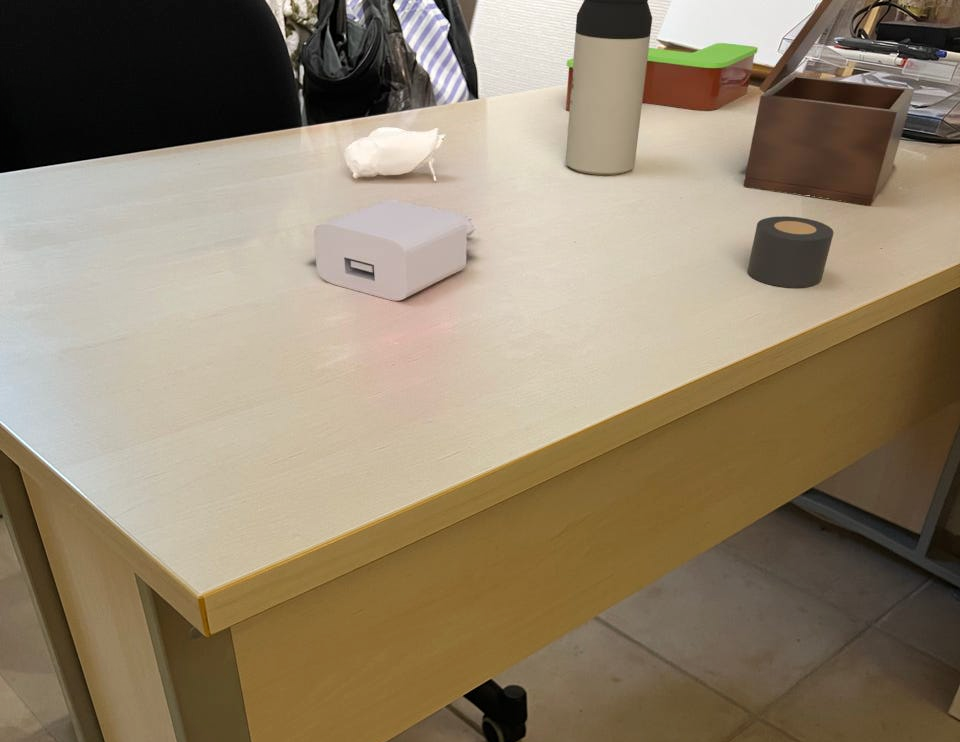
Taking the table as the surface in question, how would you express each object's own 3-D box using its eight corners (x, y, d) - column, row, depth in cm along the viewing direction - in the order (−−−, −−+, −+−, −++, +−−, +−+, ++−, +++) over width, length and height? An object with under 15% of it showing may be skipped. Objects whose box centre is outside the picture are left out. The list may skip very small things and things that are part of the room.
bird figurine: (426, 181, 107) (339, 160, 104) (442, 120, 102) (352, 95, 99) (431, 202, 104) (342, 181, 101) (448, 140, 99) (355, 116, 96)
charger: (503, 254, 85) (406, 304, 76) (420, 234, 89) (317, 280, 79) (506, 198, 82) (404, 243, 72) (419, 180, 86) (312, 220, 76)
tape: (827, 270, 84) (840, 223, 82) (813, 293, 80) (825, 244, 77) (757, 258, 86) (766, 211, 84) (739, 279, 82) (749, 231, 79)
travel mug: (645, 166, 110) (669, -22, 98) (613, 180, 105) (635, -16, 93) (586, 154, 113) (602, -28, 102) (552, 168, 108) (565, -23, 97)
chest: (889, 176, 110) (914, 89, 104) (870, 206, 100) (897, 112, 94) (771, 159, 114) (789, 74, 108) (743, 186, 105) (760, 95, 99)
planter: (683, 128, 125) (691, 77, 121) (560, 110, 132) (563, 61, 128) (751, 91, 145) (760, 47, 141) (641, 77, 152) (646, 34, 148)
